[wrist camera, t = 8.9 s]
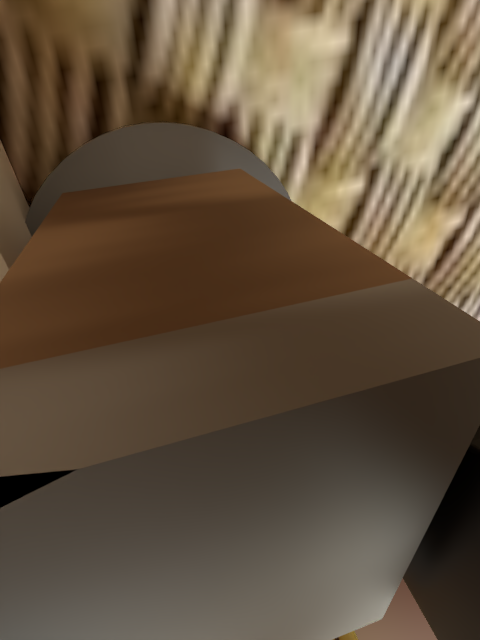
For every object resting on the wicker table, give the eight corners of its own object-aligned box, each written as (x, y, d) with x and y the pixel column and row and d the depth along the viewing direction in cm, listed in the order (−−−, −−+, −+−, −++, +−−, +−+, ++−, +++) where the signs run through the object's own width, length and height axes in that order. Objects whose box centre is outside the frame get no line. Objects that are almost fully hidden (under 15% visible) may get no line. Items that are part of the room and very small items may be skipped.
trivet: (85, 390, 14) (82, 405, 13) (-35, 141, 9) (-49, 145, 8) (292, 341, 15) (300, 351, 15) (296, 105, 10) (307, 106, 9)
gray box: (131, 383, 12) (134, 721, 5) (62, 193, 8) (-180, 541, 2) (253, 354, 13) (381, 618, 6) (240, 168, 9) (518, 346, 3)
